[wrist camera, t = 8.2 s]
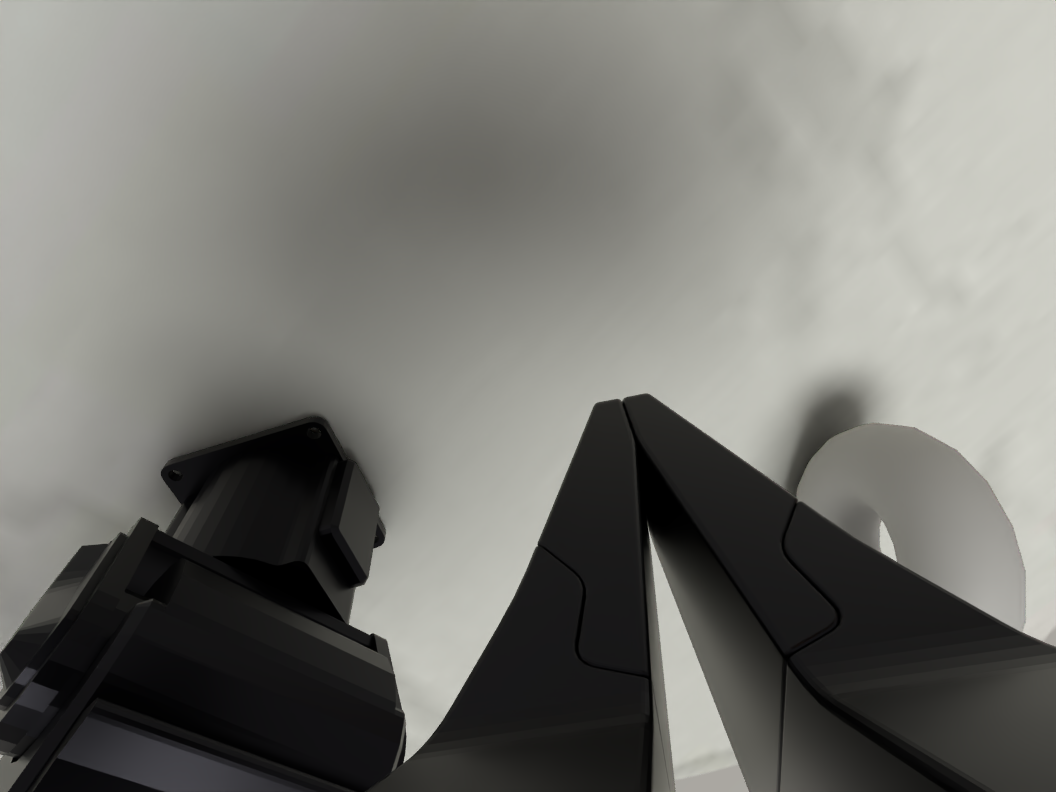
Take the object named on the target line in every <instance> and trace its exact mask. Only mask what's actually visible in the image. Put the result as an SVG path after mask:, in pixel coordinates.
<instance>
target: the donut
mask: <svg viewBox="0 0 1056 792" xmlns="http://www.w3.org/2000/svg"><path fill="white" fill-rule="evenodd" d="M796 497H797V499H798V502H799V501H803V502H804V503H805V504H807V505H808V506H810V507H811V508H813V509H814V510H815V511H817V512H818V513H820V514H821V515H823V516H824V517H826V518H827V519H829V520H830V521H832V522H833V523H835V524H836V525H838V526H839V527H841V528H842V529H844V530H845V531H847V532H848V533H850V534H851V535H853V536H854V537H856V538H857V539H859V540H861V541H862V542H864V543H866V544H867V545H869V546H871V547H873V548H874V549H876V550H878V551H879V552H881V549H880V524H881V520H882V521H883V522H884V524H885V526H886V528H887V531H888V533H889V535H890V537H891V540H892V542H893V544H894V549H895V553H896V558H897V562H898V563H900V564H901V565H903V566H905V567H907V568H908V569H910V570H912V571H914V572H915V573H917V574H919V575H921V576H923V577H924V578H926V579H928V580H930V581H931V582H933V583H935V584H937V585H938V586H940V587H942V588H944V589H946V590H947V591H949V592H951V593H953V594H954V595H956V596H958V597H960V598H961V599H963V600H965V601H967V602H969V603H970V604H972V605H974V606H976V607H977V608H979V609H981V610H983V611H984V612H986V613H988V614H990V615H992V616H993V617H995V618H997V619H999V620H1000V621H1002V622H1004V623H1006V624H1008V625H1010V626H1011V627H1013V628H1015V629H1017V630H1019V631H1021V632H1022V631H1023V628H1024V625H1025V623H1026V573H1025V568H1024V564H1023V561H1022V557H1021V553H1020V550H1019V546H1018V543H1017V539H1016V535H1015V532H1014V528H1013V526H1012V524H1011V522H1010V520H1009V519H1008V517H1007V515H1006V513H1005V511H1004V510H1003V508H1002V506H1001V504H1000V503H999V501H998V499H997V497H996V496H995V494H994V492H993V490H992V489H991V487H990V485H989V483H988V482H987V480H986V479H985V478H984V477H983V476H982V475H981V474H980V473H979V472H978V471H977V470H976V469H975V468H974V467H973V466H972V465H971V464H970V463H969V462H968V461H967V460H966V459H965V458H964V457H963V456H962V455H961V454H960V453H959V452H958V451H957V450H956V449H954V448H952V447H950V446H948V445H947V444H945V443H943V442H941V441H939V440H937V439H935V438H934V437H932V436H930V435H928V434H926V433H924V432H922V431H920V430H919V429H917V428H915V427H907V426H899V425H889V424H880V423H869V424H864V425H860V426H857V427H855V428H852V429H849V430H847V431H844V432H842V433H839V434H837V435H835V436H834V437H832V438H831V439H829V440H828V441H827V442H826V443H825V444H824V445H823V446H822V447H821V448H820V449H819V450H818V451H817V453H816V454H815V455H814V456H813V457H812V458H811V460H810V461H809V463H808V464H807V467H806V469H805V471H804V473H803V476H802V478H801V480H800V483H799V485H798V488H797V493H796Z"/></svg>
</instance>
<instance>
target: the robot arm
mask: <svg viewBox="0 0 1056 792" xmlns="http://www.w3.org/2000/svg"><path fill="white" fill-rule="evenodd" d="M310 428H317V429H319V430H320V431H321V432H320V433H316V434H315V433H313V432H311V431H310ZM173 470H177V471H179V472H181V473H182V475H179V474H176V473H175V472H174V471H173ZM161 476H162V478H163V480H164V481H165V483H166V484H167V485H168V487H169V488H170V489H171V491H172V492H173V493H174V495H175V496H176V498H177V499H178V500H179V502H180V503H181V504H182V506H181V508H180V509H179V511H178V512H177V514H176V516H175V517H174V519H173V521H172V522H171V524H170V525H169V527H168V529H167V530H166V532H165V533H164V532H162V531H160V530H158V527H159V526H158V525H156V524H154V523H152V522H150V521H148V520H146V519H144V518H142V517H141V518H140V519H139V520H138V521H137V523H136V524H135V525H134V526H133V527H132V528H131V530H130V531H129V532H128V533H127V534H126V535H125V534H123V533H121V532H120V533H119V534H118V536H117V537H116V538H115V539H114V540H113V541H111V542H110V543H109V544H100V545H88V546H82V547H81V548H80V549H79V550H78V552H77V553H76V554H75V555H74V556H73V558H72V559H71V560H70V561H69V563H68V564H67V565H66V567H65V568H64V569H63V570H62V572H61V573H60V574H59V576H58V577H57V578H56V579H55V581H54V582H53V583H52V585H51V586H50V587H49V589H48V590H47V591H46V592H45V594H44V595H43V596H42V598H41V599H40V600H39V601H38V603H37V604H36V605H35V607H34V608H33V609H32V611H31V612H30V613H29V615H28V616H27V617H26V619H25V620H24V621H23V623H22V624H21V626H20V627H19V628H18V630H17V631H16V632H15V634H14V635H13V636H12V638H11V639H10V641H9V642H8V643H7V645H6V646H5V647H4V649H3V650H2V651H1V653H0V672H1V677H2V682H3V689H2V690H1V692H0V754H1V755H3V757H2V758H1V760H0V792H675V783H674V773H673V763H672V753H671V744H670V734H669V724H668V714H667V704H666V694H665V684H664V674H663V664H662V654H661V645H660V635H659V625H658V615H657V605H656V595H655V585H654V575H653V565H652V556H651V547H650V539H649V532H650V535H651V538H652V541H653V544H654V547H655V549H656V552H657V555H658V557H659V560H660V562H661V565H662V568H663V570H664V573H665V575H666V578H667V580H668V583H669V586H670V588H671V591H672V593H673V596H674V599H675V601H676V604H677V606H678V609H679V611H680V614H681V617H682V619H683V622H684V624H685V627H686V630H687V632H688V635H689V637H690V640H691V642H692V645H693V648H694V650H695V653H696V655H697V658H698V660H699V663H700V666H701V668H702V671H703V673H704V676H705V679H706V681H707V684H708V686H709V689H710V691H711V694H712V697H713V699H714V702H715V704H716V707H717V710H718V712H719V715H720V717H721V720H722V722H723V725H724V728H725V730H726V733H727V735H728V738H729V741H730V743H731V746H732V748H733V751H734V753H735V756H736V759H737V761H738V764H739V766H740V769H741V771H742V774H743V777H744V779H745V782H746V784H747V787H748V789H749V792H1056V647H1055V646H1052V645H1050V644H1047V643H1045V642H1043V641H1040V640H1038V639H1036V638H1034V637H1031V636H1029V635H1027V634H1025V633H1023V632H1021V631H1019V630H1017V629H1015V628H1013V627H1011V626H1010V625H1008V624H1006V623H1004V622H1002V621H1000V620H999V619H997V618H995V617H993V616H992V615H990V614H988V613H986V612H984V611H983V610H981V609H979V608H977V607H976V606H974V605H972V604H970V603H969V602H967V601H965V600H963V599H961V598H960V597H958V596H956V595H954V594H953V593H951V592H949V591H947V590H946V589H944V588H942V587H940V586H938V585H937V584H935V583H933V582H931V581H930V580H928V579H926V578H924V577H923V576H921V575H919V574H917V573H915V572H914V571H912V570H910V569H908V568H907V567H905V566H903V565H901V564H900V563H898V562H896V561H894V560H893V559H891V558H889V557H888V556H886V555H884V554H883V553H881V552H879V551H878V550H876V549H874V548H873V547H871V546H869V545H867V544H866V543H864V542H862V541H861V540H859V539H857V538H856V537H854V536H853V535H851V534H850V533H848V532H847V531H845V530H844V529H842V528H841V527H839V526H838V525H836V524H835V523H833V522H832V521H830V520H829V519H827V518H826V517H824V516H823V515H821V514H820V513H818V512H817V511H815V510H814V509H813V508H811V507H810V506H808V505H807V504H805V503H804V502H803V501H799V502H798V499H797V497H795V496H794V495H792V494H791V493H789V492H788V491H787V490H785V489H784V488H782V487H781V486H779V485H778V484H777V483H775V482H774V481H772V480H771V479H770V478H768V477H767V476H765V475H764V474H762V473H761V472H760V471H758V470H757V469H755V468H754V467H752V466H751V465H750V464H748V463H747V462H745V461H744V460H743V459H741V458H740V457H738V456H737V455H735V454H734V453H733V452H731V451H730V450H728V449H727V448H725V447H724V446H723V445H721V444H720V443H718V442H717V441H715V440H714V439H713V438H711V437H710V436H708V435H707V434H706V433H704V432H703V431H701V430H700V429H698V428H697V427H696V426H694V425H693V424H691V423H690V422H688V421H687V420H686V419H684V418H683V417H681V416H680V415H679V414H677V413H676V412H674V411H673V410H671V409H670V408H669V407H667V406H666V405H664V404H663V403H661V402H660V401H659V400H657V399H656V398H654V397H653V396H651V395H650V394H640V395H635V396H630V397H626V398H624V399H623V401H621V400H619V399H614V400H609V401H604V402H599V403H596V404H595V405H594V407H593V409H592V412H591V414H590V417H589V419H588V422H587V424H586V427H585V429H584V431H583V434H582V436H581V439H580V441H579V444H578V446H577V449H576V451H575V453H574V456H573V458H572V461H571V463H570V466H569V468H568V471H567V473H566V475H565V478H564V480H563V483H562V485H561V488H560V490H559V492H558V495H557V497H556V500H555V502H554V505H553V507H552V510H551V512H550V514H549V517H548V519H547V522H546V524H545V527H544V529H543V532H542V534H541V536H540V539H539V541H538V546H537V547H536V548H535V550H534V553H533V555H532V558H531V560H530V563H529V565H528V568H527V570H526V572H525V574H524V576H523V579H522V581H521V583H520V585H519V587H518V589H517V592H516V594H515V596H514V598H513V600H512V602H511V603H510V605H509V607H508V609H507V611H506V613H505V614H504V616H503V618H502V620H501V622H500V624H499V625H498V627H497V629H496V631H495V632H494V634H493V636H492V638H491V639H490V641H489V643H488V644H487V646H486V648H485V650H484V651H483V653H482V655H481V656H480V658H479V660H478V662H477V663H476V665H475V667H474V668H473V670H472V672H471V674H470V675H469V677H468V679H467V681H466V682H465V684H464V686H463V687H462V689H461V691H460V693H459V694H458V696H457V698H456V699H455V701H454V703H453V705H452V706H451V708H450V710H449V711H448V713H447V714H446V716H445V718H444V719H443V721H442V722H441V724H440V725H439V726H438V728H437V729H436V731H435V732H434V733H433V735H432V736H431V737H430V738H429V739H428V740H427V742H426V743H425V744H424V745H423V746H422V747H421V748H420V749H419V750H418V751H417V752H416V753H415V754H414V755H413V756H412V757H411V758H410V759H408V760H407V761H406V762H404V763H403V761H404V756H405V749H406V720H405V714H404V712H403V710H402V708H401V703H400V698H399V694H398V689H397V685H396V680H395V674H394V671H393V666H392V662H391V657H390V653H389V648H388V644H387V640H386V639H384V638H382V637H380V636H378V635H376V634H374V633H372V634H371V635H368V634H366V633H364V632H362V631H360V630H358V629H356V628H354V627H352V626H350V625H349V619H350V614H351V609H352V603H353V598H354V592H355V587H358V586H361V585H364V584H365V582H366V581H367V579H368V577H369V571H370V565H371V558H372V552H373V548H377V547H379V546H381V545H382V544H383V543H384V540H385V535H386V531H385V528H384V526H383V525H382V523H381V521H380V519H379V517H378V515H379V506H378V504H377V502H376V500H375V498H374V496H373V494H372V492H371V491H370V489H369V487H368V485H367V483H366V481H365V479H364V477H363V475H362V473H361V472H360V470H359V468H358V466H357V464H356V463H355V462H354V461H352V460H350V459H347V457H346V455H345V454H344V452H343V450H342V448H341V446H340V444H339V442H338V441H337V439H336V437H335V435H334V433H333V431H332V429H331V427H330V426H329V424H328V423H327V421H326V420H324V419H323V418H321V417H316V416H315V417H309V418H305V419H302V420H299V421H296V422H292V423H289V424H286V425H282V426H279V427H276V428H273V429H269V430H266V431H263V432H260V433H256V434H253V435H250V436H246V437H243V438H240V439H237V440H233V441H230V442H227V443H224V444H220V445H217V446H214V447H210V448H207V449H204V450H201V451H197V452H194V453H191V454H187V455H184V456H181V457H178V458H174V459H172V460H170V461H168V462H167V464H166V465H165V466H164V468H163V469H162V471H161ZM648 528H649V532H648ZM375 535H377V537H375Z"/></svg>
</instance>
